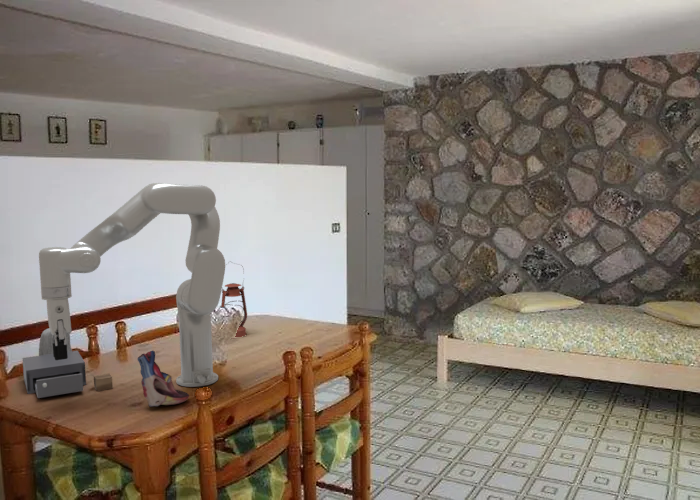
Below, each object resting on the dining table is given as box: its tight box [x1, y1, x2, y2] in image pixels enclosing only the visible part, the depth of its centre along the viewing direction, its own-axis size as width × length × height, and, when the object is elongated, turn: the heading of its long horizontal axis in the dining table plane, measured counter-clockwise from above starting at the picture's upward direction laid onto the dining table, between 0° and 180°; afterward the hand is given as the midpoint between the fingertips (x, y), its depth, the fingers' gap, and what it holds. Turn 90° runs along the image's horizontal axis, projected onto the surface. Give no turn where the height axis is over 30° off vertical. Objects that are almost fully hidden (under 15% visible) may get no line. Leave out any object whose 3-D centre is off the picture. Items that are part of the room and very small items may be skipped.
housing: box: [22, 350, 87, 395], centre depth 198 cm, size 16×16×7 cm
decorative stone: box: [38, 328, 73, 356], centre depth 213 cm, size 11×6×15 cm, turn 148°
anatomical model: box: [137, 350, 190, 408], centre depth 176 cm, size 9×13×15 cm
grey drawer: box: [33, 372, 84, 399], centre depth 190 cm, size 16×12×5 cm
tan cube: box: [93, 373, 114, 392], centre depth 192 cm, size 4×4×4 cm
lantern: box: [220, 260, 248, 338], centre depth 254 cm, size 10×10×30 cm
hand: (60, 357), depth 178 cm, fingers open, 2 cm apart
